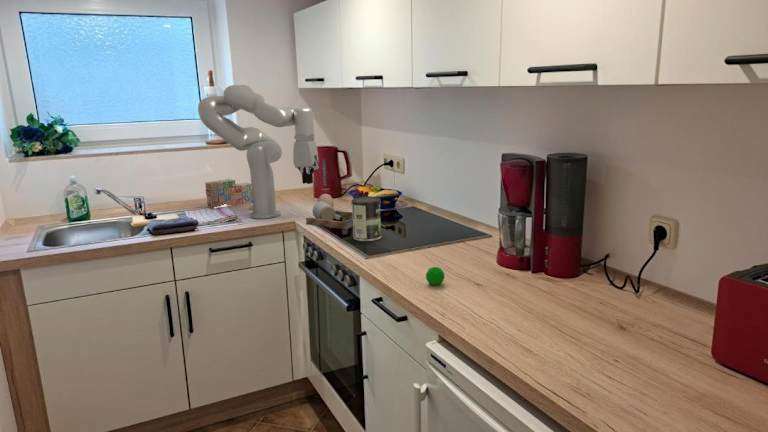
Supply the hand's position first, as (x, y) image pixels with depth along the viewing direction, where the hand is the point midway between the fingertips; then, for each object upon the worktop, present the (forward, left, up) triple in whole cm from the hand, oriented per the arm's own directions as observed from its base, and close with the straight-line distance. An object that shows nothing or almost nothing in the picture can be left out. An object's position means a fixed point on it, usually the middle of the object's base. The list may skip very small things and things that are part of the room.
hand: (307, 182), depth 227 cm
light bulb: (+9, 0, -15) cm, 18 cm away
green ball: (+83, -45, -15) cm, 96 cm away
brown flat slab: (+15, 0, -15) cm, 21 cm away
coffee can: (+39, -14, -15) cm, 44 cm away
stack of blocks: (-54, +5, -16) cm, 56 cm away
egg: (-1, +12, -15) cm, 19 cm away
